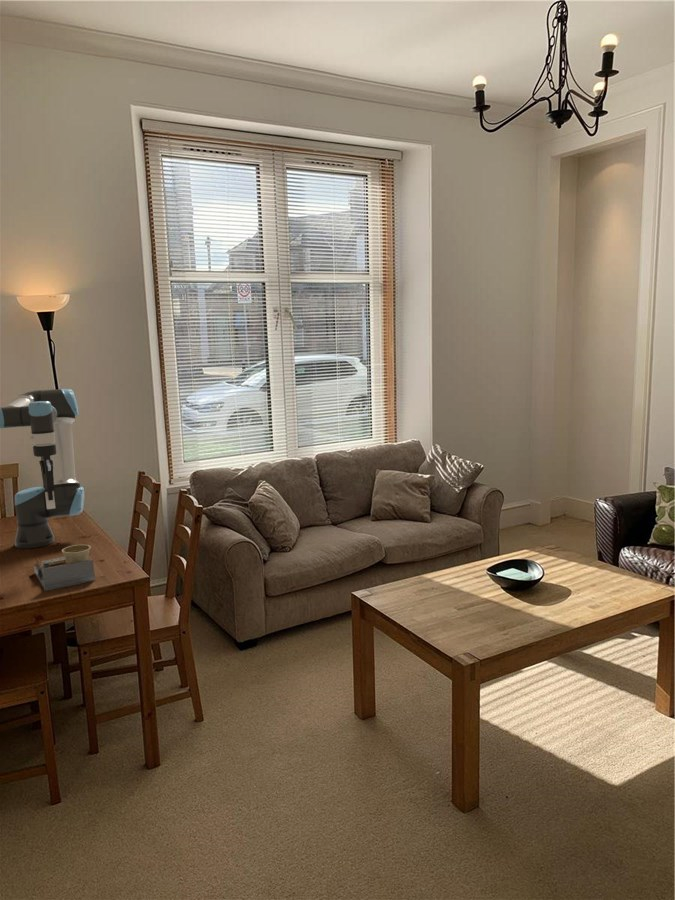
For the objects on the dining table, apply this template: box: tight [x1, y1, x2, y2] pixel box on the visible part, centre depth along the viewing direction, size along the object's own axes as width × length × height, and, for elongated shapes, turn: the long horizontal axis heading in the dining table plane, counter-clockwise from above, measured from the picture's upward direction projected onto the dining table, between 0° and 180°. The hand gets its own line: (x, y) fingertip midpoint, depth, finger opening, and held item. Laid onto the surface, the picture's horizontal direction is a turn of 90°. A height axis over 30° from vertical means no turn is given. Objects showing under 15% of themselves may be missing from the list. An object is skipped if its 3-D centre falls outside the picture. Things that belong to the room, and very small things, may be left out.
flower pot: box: [61, 544, 92, 564], centre depth 232 cm, size 9×9×9 cm
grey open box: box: [33, 558, 96, 592], centre depth 233 cm, size 22×16×8 cm
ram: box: [40, 556, 67, 572], centre depth 235 cm, size 5×13×4 cm, turn 123°
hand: (51, 508), depth 241 cm, fingers closed
